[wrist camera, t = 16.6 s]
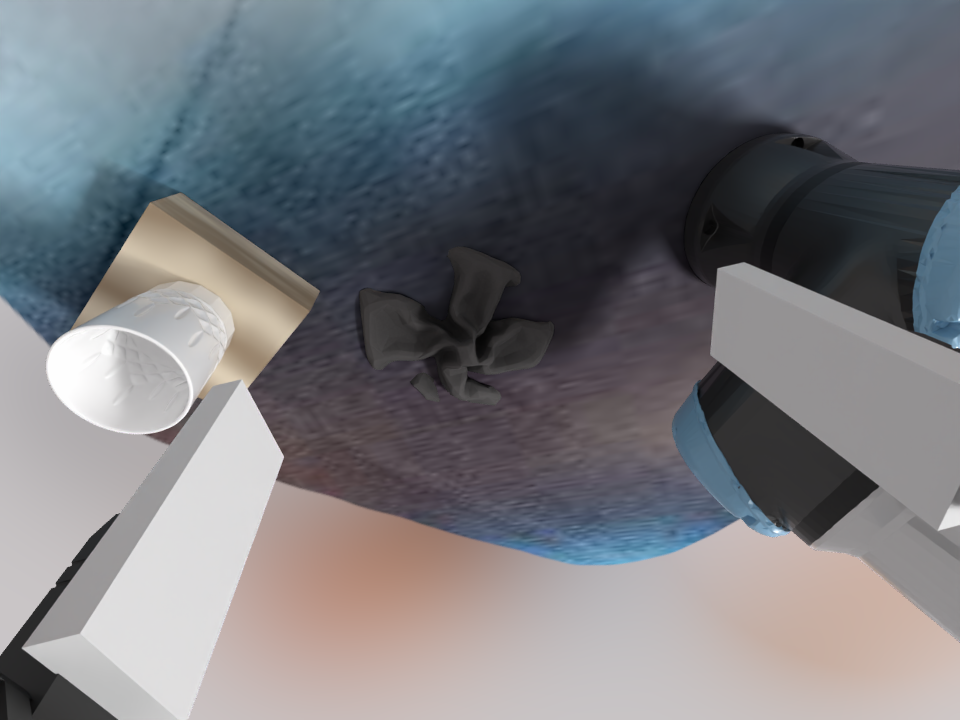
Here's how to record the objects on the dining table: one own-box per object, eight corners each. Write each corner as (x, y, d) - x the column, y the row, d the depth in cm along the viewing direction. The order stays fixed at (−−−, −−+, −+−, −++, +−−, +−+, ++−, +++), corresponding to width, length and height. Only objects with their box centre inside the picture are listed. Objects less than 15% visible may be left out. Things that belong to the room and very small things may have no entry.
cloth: (322, 317, 43) (310, 345, 38) (476, 201, 40) (486, 213, 35) (455, 451, 54) (461, 488, 48) (586, 367, 51) (607, 396, 45)
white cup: (165, 370, 38) (93, 445, 29) (114, 283, 34) (13, 340, 25) (258, 352, 38) (214, 420, 30) (217, 264, 34) (153, 313, 26)
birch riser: (181, 192, 36) (150, 202, 32) (319, 291, 42) (309, 311, 37) (107, 306, 39) (70, 329, 35) (245, 384, 45) (227, 412, 41)
